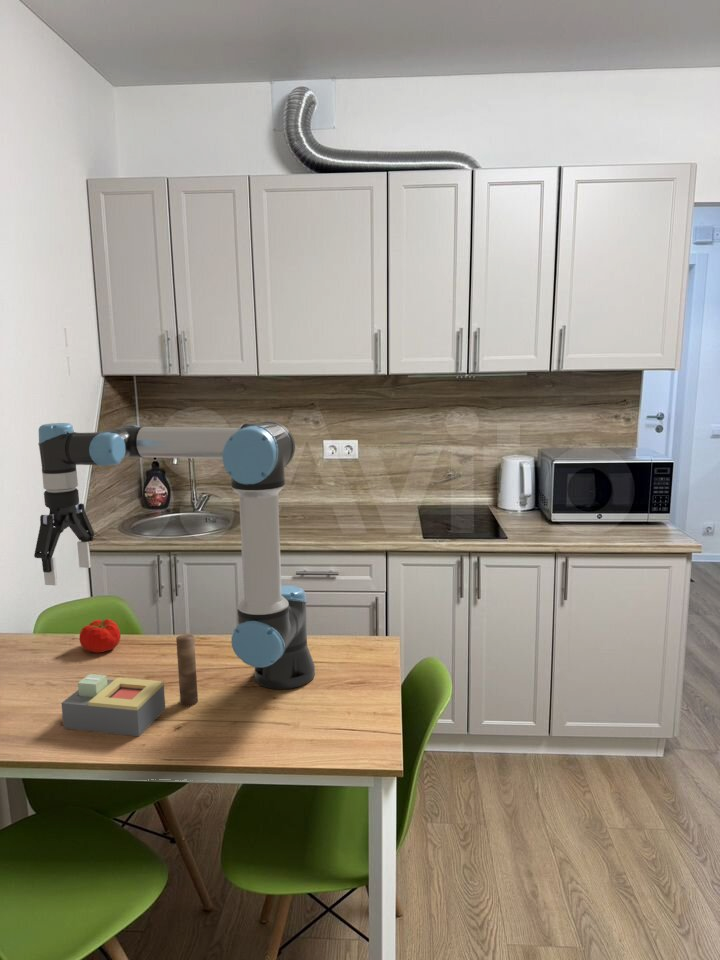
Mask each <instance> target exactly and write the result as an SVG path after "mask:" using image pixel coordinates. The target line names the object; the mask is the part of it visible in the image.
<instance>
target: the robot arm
mask: <svg viewBox="0 0 720 960" xmlns="http://www.w3.org/2000/svg"><path fill="white" fill-rule="evenodd" d="M295 441H296V440H295V438H294V436H293V434H292V432H291V431H290V430H289V429H288V428H287V427H286V426H285V425H283V424H282V423H279V422H276V421H271V420H270V421H263V422H256V423H254V422H253V423H242V424H241V425H240V426H239V427H201V426H200V427H192V426H191V427H189V426H188V427H184V426H183V427H181V426H180V427H178V426H177V427H176V426H174V427H173V426H169V427H167V426H165V427H164V426H157V427H156V426H138V425H134V424H133V425H131V424H130V425H123V426H121V427H115V428H110V429H106V430H101V431H94V432H74V428H73V425H72V424H71V423H69V422H67V423H66V422H54V423H52V422H51V423H45V424H41V425H40V426H39V428H38V443H37V444H38V449H39V455H40V462H41V473H42V487H43V489H44V490H45V491H44V492H43V498H44V500H43V501H44V506H45V507H46V508H48V509H49V513H48V514H41V515H40V517H39V521H40V526H39V530H38V533H37V540H36V544H35V545H36V546H35V548H34V549H35V550H34V555H33V557H34V558H35V559H40V560H41V564H42V565H41V567H42V572H43V579H44V585H45V586H58V578H57V563H56V557H55V556H54V557H53V555H54V553H55V550H56V547H57V545H58V542H59V539H60V536H61V534H62V533H63V532H64V530H66V529H67V528H70V530H71V531H72V533H73V534H74V535H75V536H76V537H77V539H78V541H77V543H76V544H77V555H78V565H79V566H78V567H79V568H85V569H86V568H87V569H88V568H89V569H90V568H91V567H92V565H91V563H92V562H91V556H90V555H91V553H90V551H91V549H90V542H93V540H94V536H95V531H94V529H93V527H92V525H91V522H90V519H89V518H88V515H87V512H86V509H85V504H84V503H80V497H79V495H80V494H79V489H78V486H79V482H78V472H77V466H102V467H109V466H117V465H119V464H120V463H122V461H123V460H124V459H125V458H127V459H128V458H160V459H161V458H165V459H201V460H204V459H207V460H208V459H209V460H210V459H211V460H222V464H223V468H224V470H225V471H226V473H227V474H228V475H229V476H230V480H231V481H230V482H231V489H232V491H234V492H235V493H236V494H237V496H238V498H239V500H238V503H239V521H240V522H239V523H240V544H241V548H240V549H241V568H242V571H241V572H242V591H243V593H242V594H243V598H242V599H240V601H238V603H237V605H236V606H237V610H236V611H237V626H236V627H235V628H234V630H233V632H232V635H231V640H230V641H231V647H232V650H233V652H234V654H235V656H236V657H237V658H238V659H240V660H241V661H242V662H243V663H244V664H245V665H247V666H250V667H253V668H254V671H253V672H254V680H255V682H256V683H257V684H258V685H260V686H262V687H265V688H267V689H271V690H272V689H274V690H289V689H295V688H298V687H302V686H305V685H306V684H307V685H308V683H310V682H311V681H312V680H313V679H314V677H315V675H316V671H315V670H316V669H315V662H314V661H313V657H312V654H311V652H310V649H309V646H308V631H307V630H308V629H307V625H308V624H307V602H308V601H307V599H306V592H305V590H304V589H303V588H301V587H299V586H294V585H282V572H281V571H282V569H281V565H282V564H281V538H280V513H279V512H280V510H279V509H280V508H279V507H280V506H279V493H280V492H281V491H282V490H283V489H284V488H285V484H286V482H285V481H286V480H285V468H286V467H287V466H288V465H289V464H290V463H291V461H292V460H293V457H294V456H295V455H294V454H295V453H296V452H295V451H296V442H295Z"/></svg>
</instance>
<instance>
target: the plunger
mask: <svg viewBox="0 0 720 960" xmlns="http://www.w3.org/2000/svg"><path fill="white" fill-rule="evenodd" d="M139 692H141V690H131V689H120V690H119V691H118V692H117V693H116V694H115V695H114V696H112V697H111V698H120V699H130V700H132V699H133V698H134V697H135V696H136V695H137V694H138V693H139Z"/></svg>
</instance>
